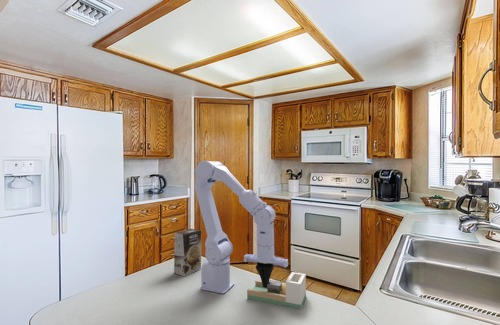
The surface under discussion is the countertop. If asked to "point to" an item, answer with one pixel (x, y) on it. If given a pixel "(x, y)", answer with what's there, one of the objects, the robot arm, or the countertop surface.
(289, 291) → the pitch
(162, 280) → the countertop surface
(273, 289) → the block
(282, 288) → the ball
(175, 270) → the coffee box
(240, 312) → the countertop surface
